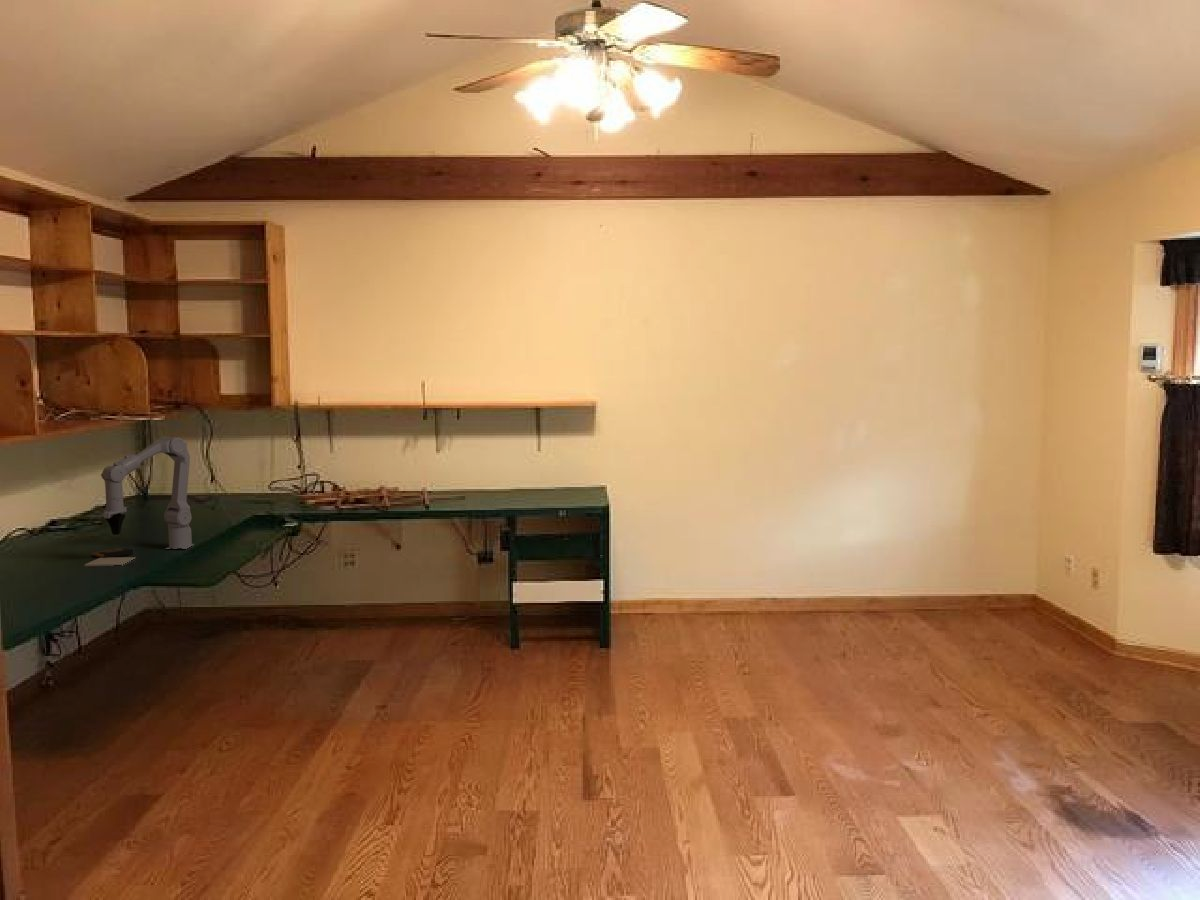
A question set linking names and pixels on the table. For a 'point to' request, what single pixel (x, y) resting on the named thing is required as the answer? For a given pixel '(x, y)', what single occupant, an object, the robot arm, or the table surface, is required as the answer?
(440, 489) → the table surface
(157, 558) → the table surface
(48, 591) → the table surface
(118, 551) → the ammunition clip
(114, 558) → the mat
